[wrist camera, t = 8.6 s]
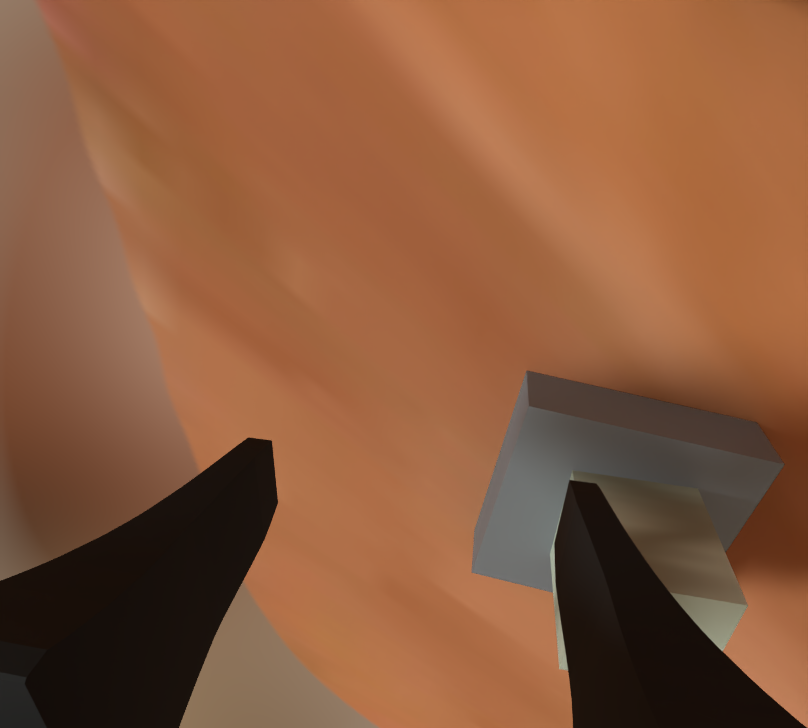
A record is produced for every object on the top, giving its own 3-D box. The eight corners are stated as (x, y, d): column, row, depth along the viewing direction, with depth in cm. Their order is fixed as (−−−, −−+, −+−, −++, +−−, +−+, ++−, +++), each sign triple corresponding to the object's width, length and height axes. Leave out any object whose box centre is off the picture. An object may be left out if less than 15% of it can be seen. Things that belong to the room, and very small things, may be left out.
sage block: (697, 488, 21) (748, 605, 16) (662, 572, 23) (698, 694, 18) (572, 470, 21) (588, 579, 17) (549, 553, 23) (559, 668, 19)
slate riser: (752, 415, 22) (784, 464, 20) (661, 567, 27) (677, 623, 24) (526, 364, 23) (528, 405, 20) (475, 522, 27) (471, 572, 25)
